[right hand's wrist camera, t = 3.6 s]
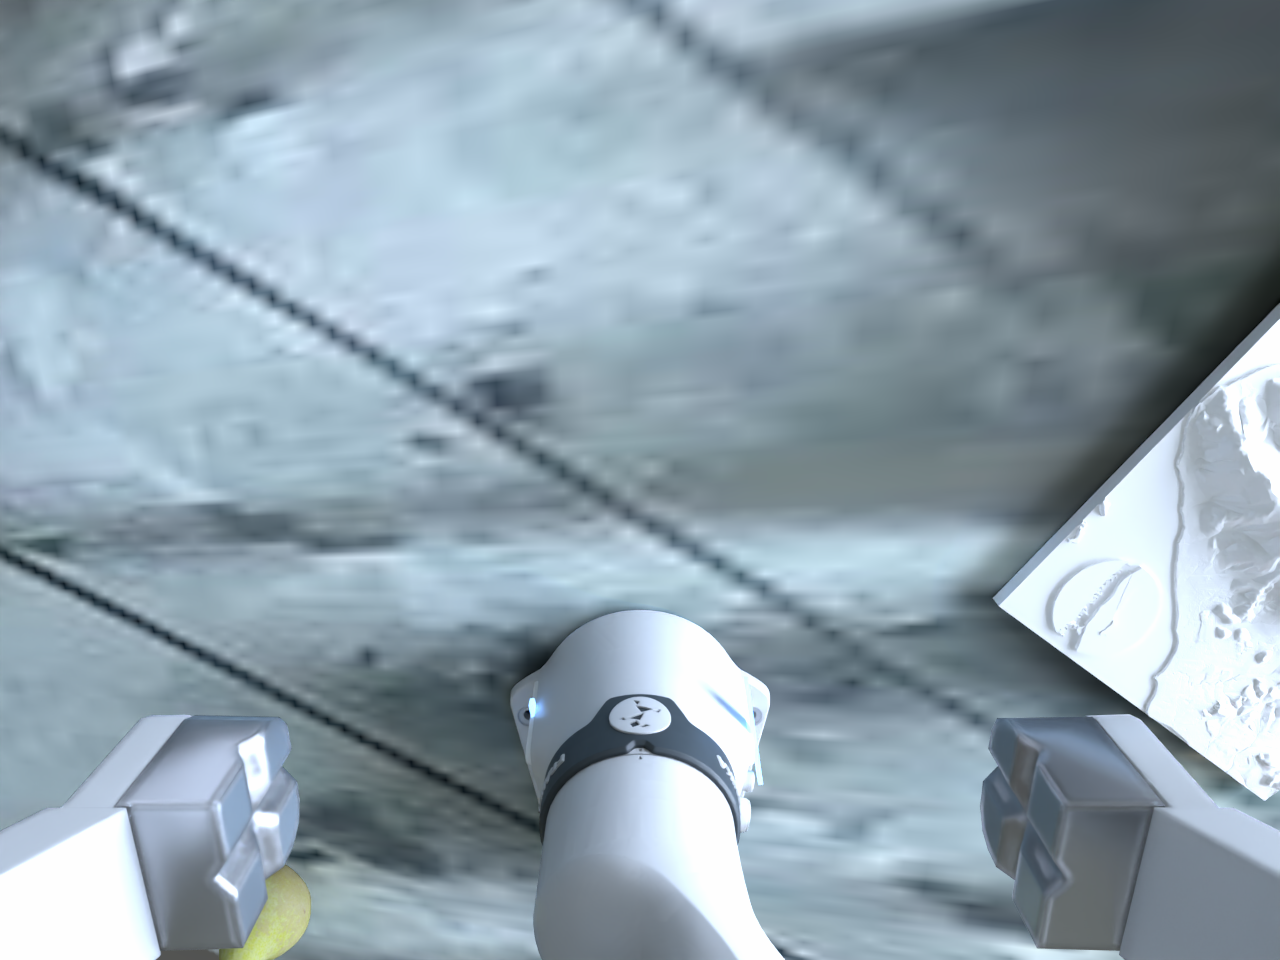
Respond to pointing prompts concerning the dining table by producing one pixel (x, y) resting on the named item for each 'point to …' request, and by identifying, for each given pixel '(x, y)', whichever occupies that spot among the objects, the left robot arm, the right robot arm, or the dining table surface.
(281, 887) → the fruit
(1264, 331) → the relief map
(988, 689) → the dining table surface
